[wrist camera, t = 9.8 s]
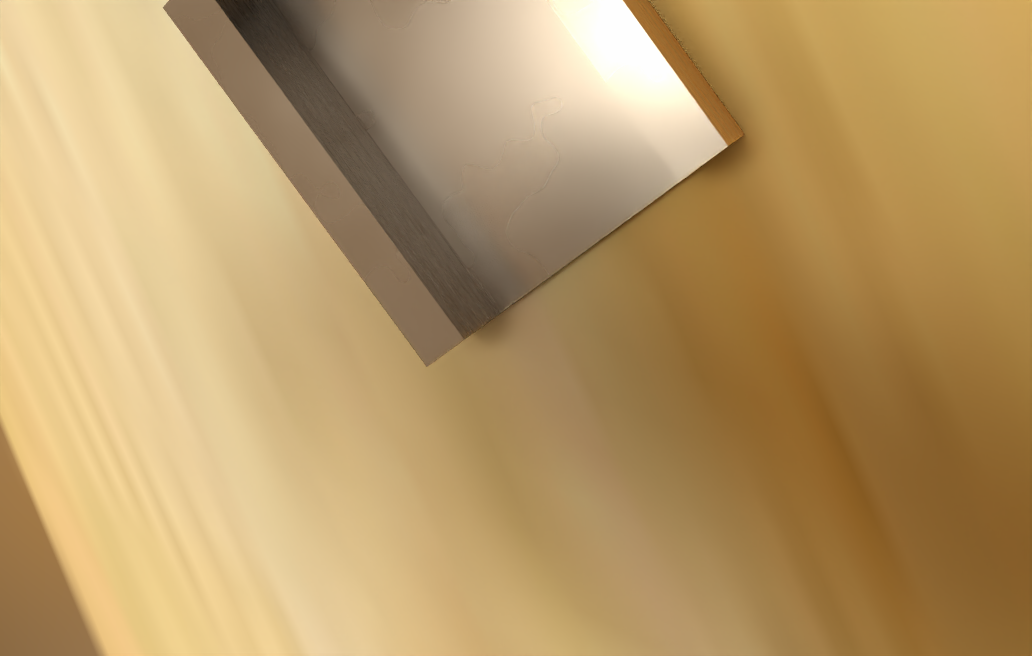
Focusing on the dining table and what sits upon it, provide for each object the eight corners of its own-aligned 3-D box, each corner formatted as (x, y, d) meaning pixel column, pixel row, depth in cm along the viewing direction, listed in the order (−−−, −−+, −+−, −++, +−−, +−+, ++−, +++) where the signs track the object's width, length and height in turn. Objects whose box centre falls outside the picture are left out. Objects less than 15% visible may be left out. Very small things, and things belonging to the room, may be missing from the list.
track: (744, 134, 18) (728, 146, 16) (471, 334, 21) (427, 366, 19) (471, -245, 18) (418, -283, 16) (233, 10, 21) (162, 7, 19)
